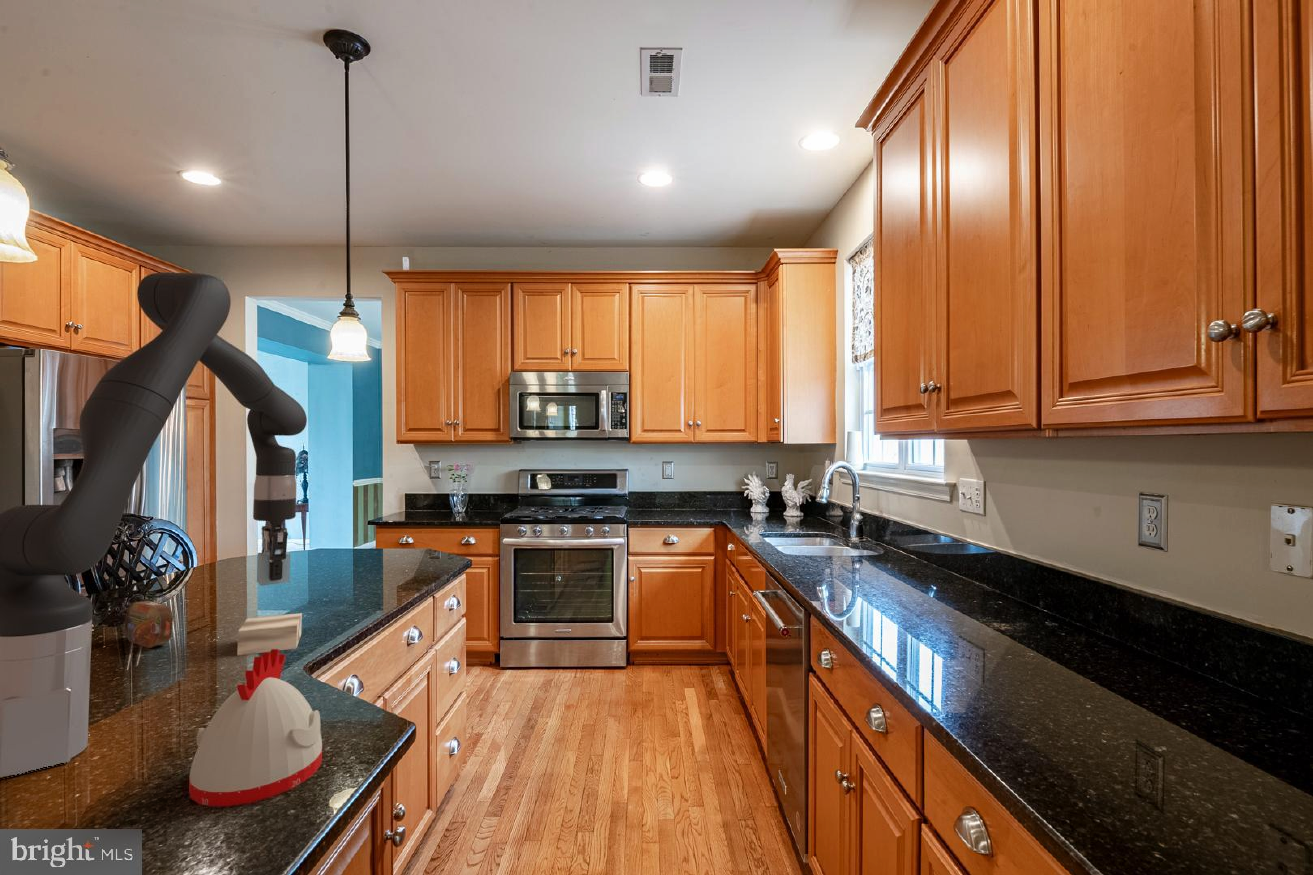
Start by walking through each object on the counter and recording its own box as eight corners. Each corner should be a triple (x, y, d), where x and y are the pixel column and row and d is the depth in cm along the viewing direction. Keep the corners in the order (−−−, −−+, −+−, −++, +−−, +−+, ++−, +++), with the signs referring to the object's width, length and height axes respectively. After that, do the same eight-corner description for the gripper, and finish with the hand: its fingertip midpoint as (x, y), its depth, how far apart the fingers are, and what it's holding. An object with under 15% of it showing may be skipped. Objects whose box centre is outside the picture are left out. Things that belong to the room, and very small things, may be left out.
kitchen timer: (342, 745, 81) (344, 637, 81) (281, 806, 67) (285, 675, 68) (239, 746, 80) (243, 637, 81) (158, 807, 67) (162, 675, 67)
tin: (122, 639, 124) (124, 599, 124) (141, 635, 127) (142, 596, 127) (156, 651, 117) (158, 609, 117) (175, 647, 120) (176, 606, 120)
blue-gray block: (289, 582, 122) (290, 553, 122) (260, 585, 119) (261, 556, 119) (284, 578, 126) (285, 550, 126) (256, 581, 122) (257, 552, 123)
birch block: (296, 649, 120) (297, 625, 120) (237, 656, 115) (238, 631, 115) (301, 635, 129) (301, 613, 129) (246, 641, 124) (247, 618, 124)
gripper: (303, 498, 120) (301, 581, 119) (288, 493, 130) (286, 569, 130) (259, 500, 115) (257, 586, 114) (248, 495, 125) (246, 574, 125)
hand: (273, 577), depth 122 cm, fingers closed on blue-gray block, 5 cm apart
